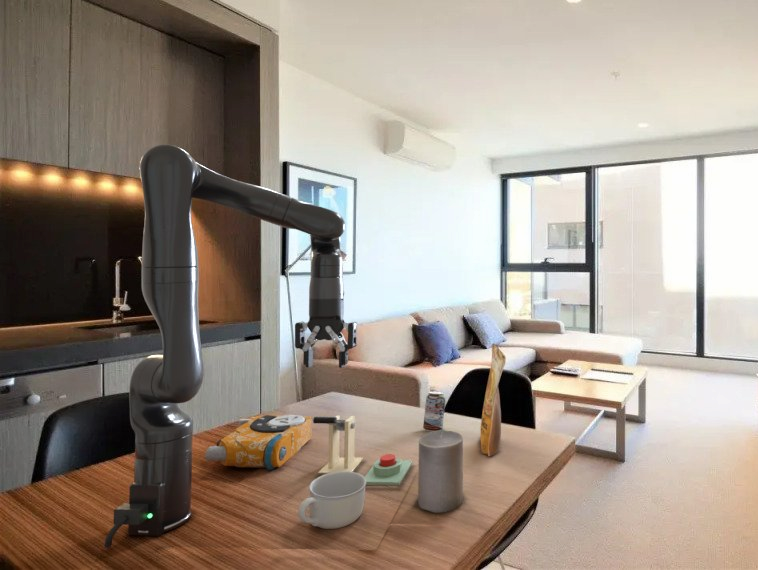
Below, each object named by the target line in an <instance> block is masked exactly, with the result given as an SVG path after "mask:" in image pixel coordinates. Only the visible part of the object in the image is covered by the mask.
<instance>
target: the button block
mask: <svg viewBox="0 0 758 570" xmlns="http://www.w3.org/2000/svg"><path fill="white" fill-rule="evenodd" d="M412 465H413V460H412V459H410V460H409V459H408V460H407V459H406V460H405V459H404V460H403V459H401V458H398V457H395V465H393V466H388V467H382V466H380V459H377V460H375V462H374V463H373V465H372V466H371V468H370V469H369V470H368V471H367V473H366V474H365V476H364V477H365V479H366V486H400V485H401V483H402V481H403V480H404V478H405V476H406V474H407V473H408V471H409V469H410V467H411V466H412Z"/></svg>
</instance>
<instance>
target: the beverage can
mask: <svg viewBox="0 0 758 570" xmlns="http://www.w3.org/2000/svg"><path fill="white" fill-rule="evenodd" d="M424 405H425V406H424V417H423V427H422V428H423V429H424V430H425V431H426V432H434V431H442V430H443V427H444V418H445V407H446V395H445V392H443V391H432V390H431V391H428V392H427V395H425V404H424Z"/></svg>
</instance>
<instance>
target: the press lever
mask: <svg viewBox="0 0 758 570" xmlns="http://www.w3.org/2000/svg"><path fill="white" fill-rule="evenodd" d="M346 420H347V419H340V420H337V417H335V416H314V417H313V419H312V422H313V424H325V425H326V424H327V425H329V424H330V425H333V426H336V427H335V430H337V431H340V432H345V421H346Z"/></svg>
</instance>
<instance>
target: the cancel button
mask: <svg viewBox="0 0 758 570" xmlns="http://www.w3.org/2000/svg"><path fill="white" fill-rule="evenodd" d="M395 458H396V454H394V453H393V454H391V453H386V454H383V455H381V456H380V458H379V460H380V466H382V467H388V466H393V465H395Z"/></svg>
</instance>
